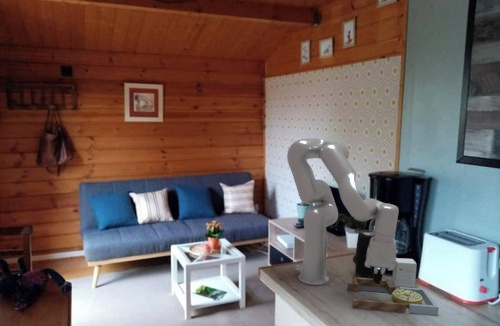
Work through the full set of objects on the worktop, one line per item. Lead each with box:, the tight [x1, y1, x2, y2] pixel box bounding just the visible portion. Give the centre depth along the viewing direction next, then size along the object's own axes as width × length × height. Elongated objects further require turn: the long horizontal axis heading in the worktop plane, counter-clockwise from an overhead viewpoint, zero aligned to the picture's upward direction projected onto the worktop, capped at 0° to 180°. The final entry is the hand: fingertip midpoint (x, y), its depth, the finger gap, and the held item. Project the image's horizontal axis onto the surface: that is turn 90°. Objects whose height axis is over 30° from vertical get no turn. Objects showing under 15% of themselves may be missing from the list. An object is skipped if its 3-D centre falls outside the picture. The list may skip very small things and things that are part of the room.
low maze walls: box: [346, 276, 407, 314], centre depth 160 cm, size 18×22×3 cm
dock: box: [398, 286, 439, 316], centre depth 155 cm, size 10×16×3 cm, turn 174°
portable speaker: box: [354, 229, 374, 278], centre depth 181 cm, size 9×9×20 cm
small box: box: [391, 257, 418, 288], centre depth 173 cm, size 8×6×10 cm
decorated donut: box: [391, 288, 424, 308], centre depth 157 cm, size 10×11×4 cm
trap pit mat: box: [358, 285, 388, 294], centre depth 167 cm, size 12×5×1 cm, turn 84°
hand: (376, 282), depth 157 cm, fingers closed
